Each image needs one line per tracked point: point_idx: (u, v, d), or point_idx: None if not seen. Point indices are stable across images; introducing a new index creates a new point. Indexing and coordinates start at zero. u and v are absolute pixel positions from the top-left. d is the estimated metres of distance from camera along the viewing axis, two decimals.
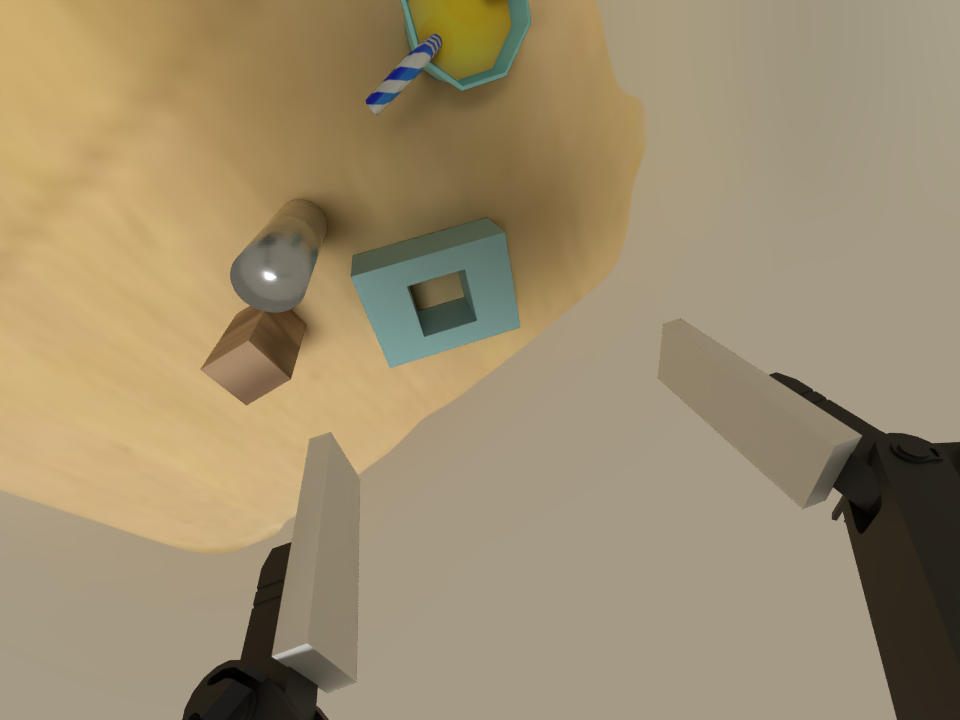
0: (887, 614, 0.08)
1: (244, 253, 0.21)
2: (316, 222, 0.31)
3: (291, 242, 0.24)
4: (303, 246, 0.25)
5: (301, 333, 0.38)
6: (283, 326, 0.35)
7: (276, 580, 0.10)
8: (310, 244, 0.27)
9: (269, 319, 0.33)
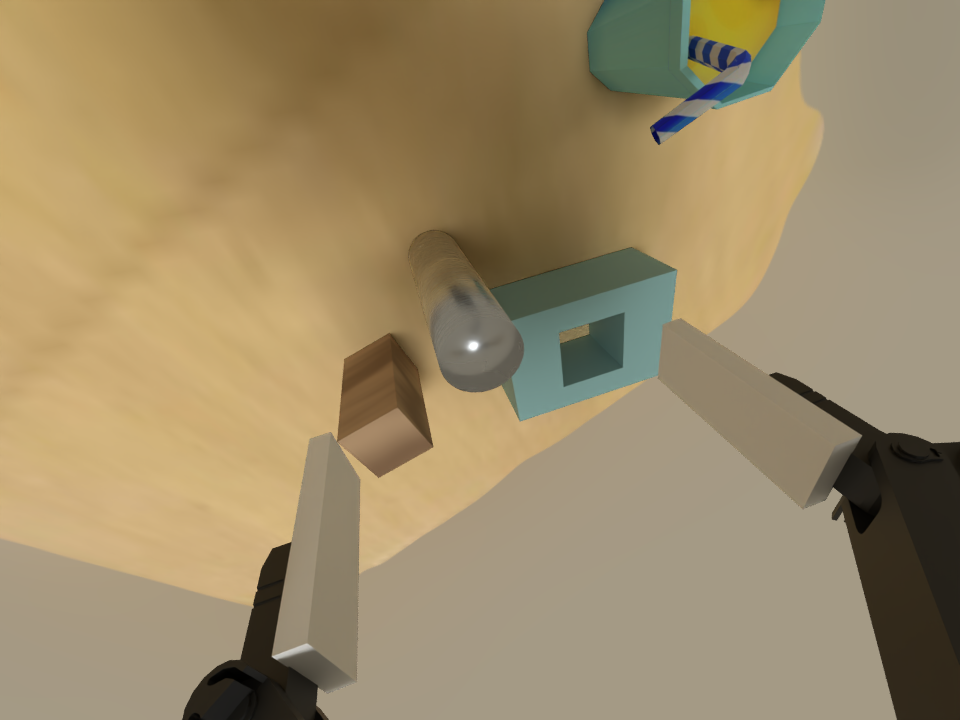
0: (887, 614, 0.08)
1: (464, 324, 0.16)
2: None
3: (494, 300, 0.19)
4: None
5: (418, 380, 0.33)
6: (408, 377, 0.30)
7: (276, 580, 0.10)
8: None
9: (398, 372, 0.28)
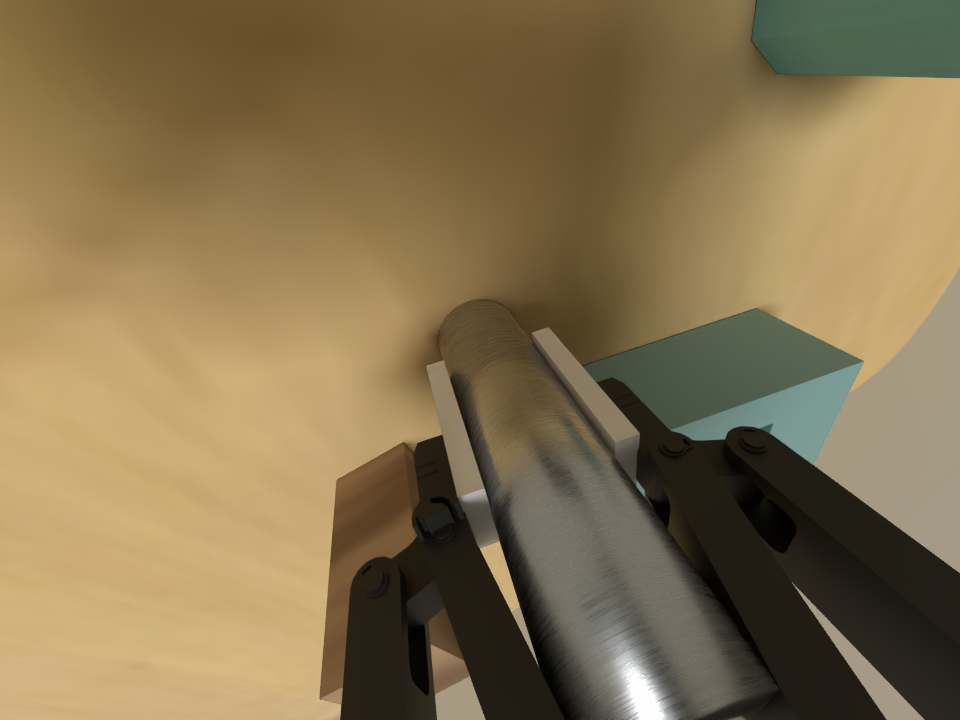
0: None
1: None
2: None
3: (673, 545, 0.08)
4: (663, 524, 0.09)
5: None
6: None
7: (430, 462, 0.12)
8: None
9: None
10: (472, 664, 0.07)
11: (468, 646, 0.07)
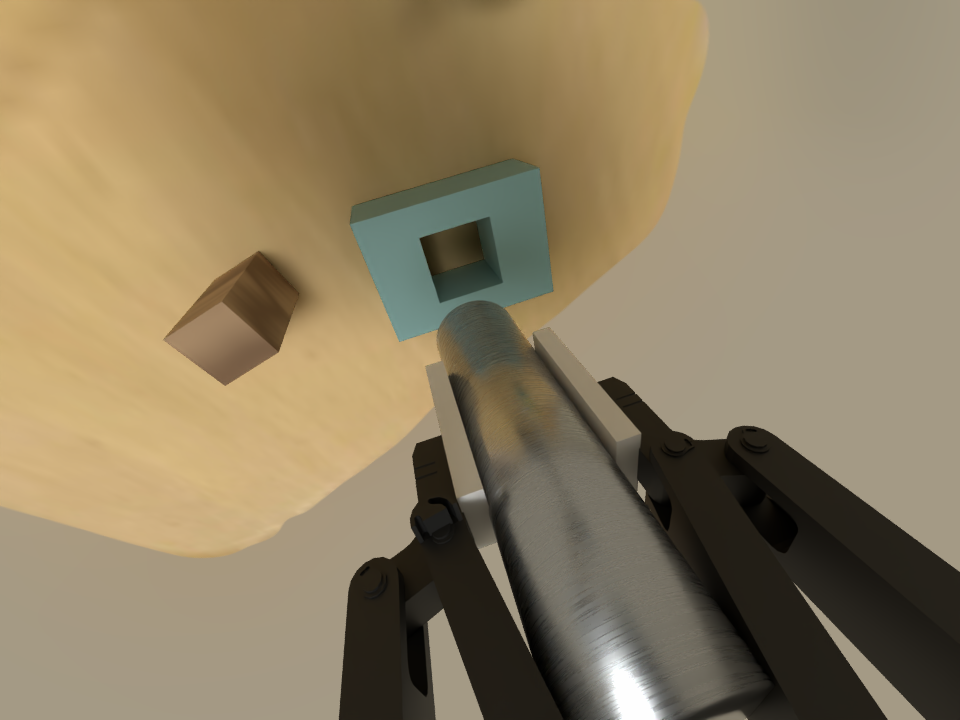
0: None
1: None
2: None
3: (668, 544, 0.08)
4: (659, 523, 0.09)
5: (292, 301, 0.32)
6: (270, 291, 0.29)
7: (428, 462, 0.12)
8: None
9: (251, 281, 0.27)
10: (471, 665, 0.07)
11: (467, 647, 0.07)
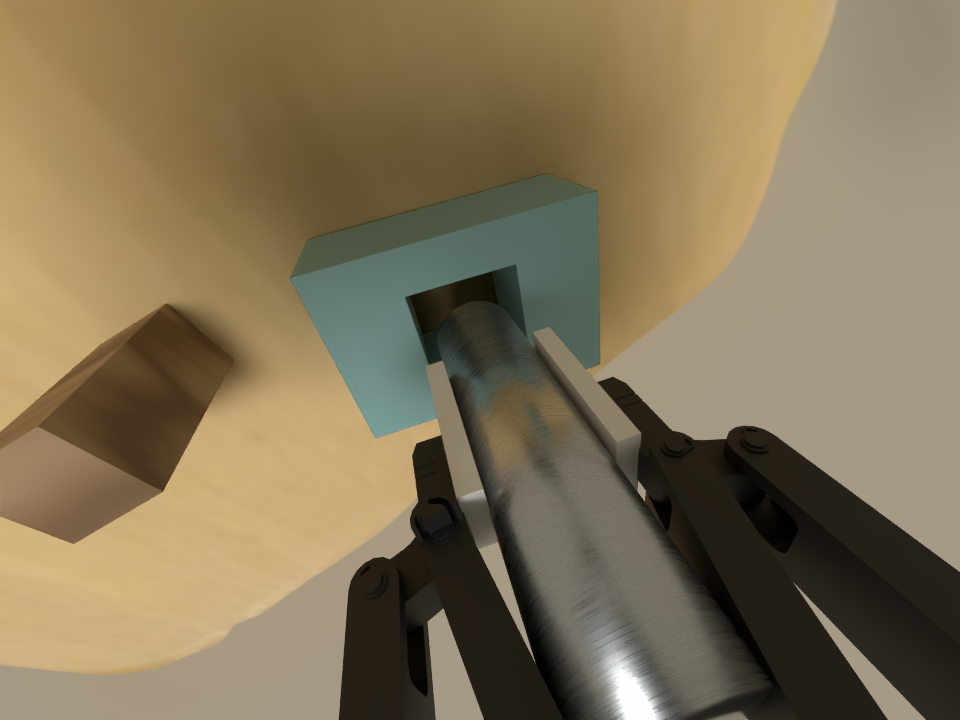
0: None
1: None
2: None
3: (670, 544, 0.08)
4: (660, 524, 0.09)
5: (218, 377, 0.21)
6: (173, 371, 0.19)
7: (429, 462, 0.12)
8: None
9: (132, 363, 0.17)
10: (471, 665, 0.07)
11: (467, 647, 0.07)
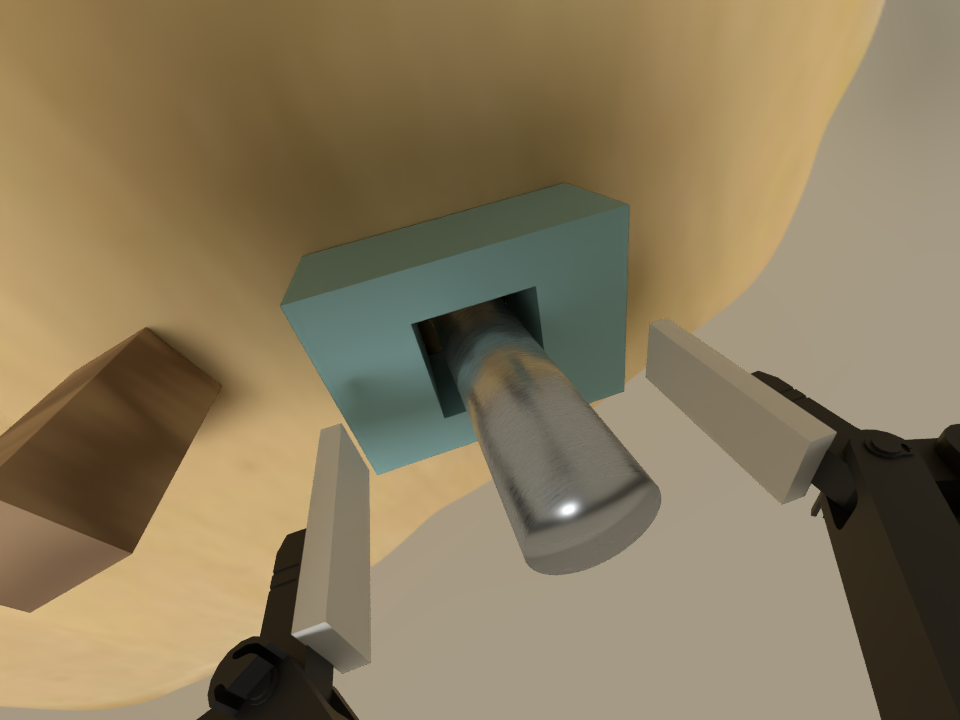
0: (867, 609, 0.08)
1: (576, 492, 0.09)
2: None
3: (596, 415, 0.11)
4: None
5: (203, 407, 0.19)
6: (150, 406, 0.17)
7: (292, 564, 0.10)
8: None
9: (102, 400, 0.15)
10: None
11: None
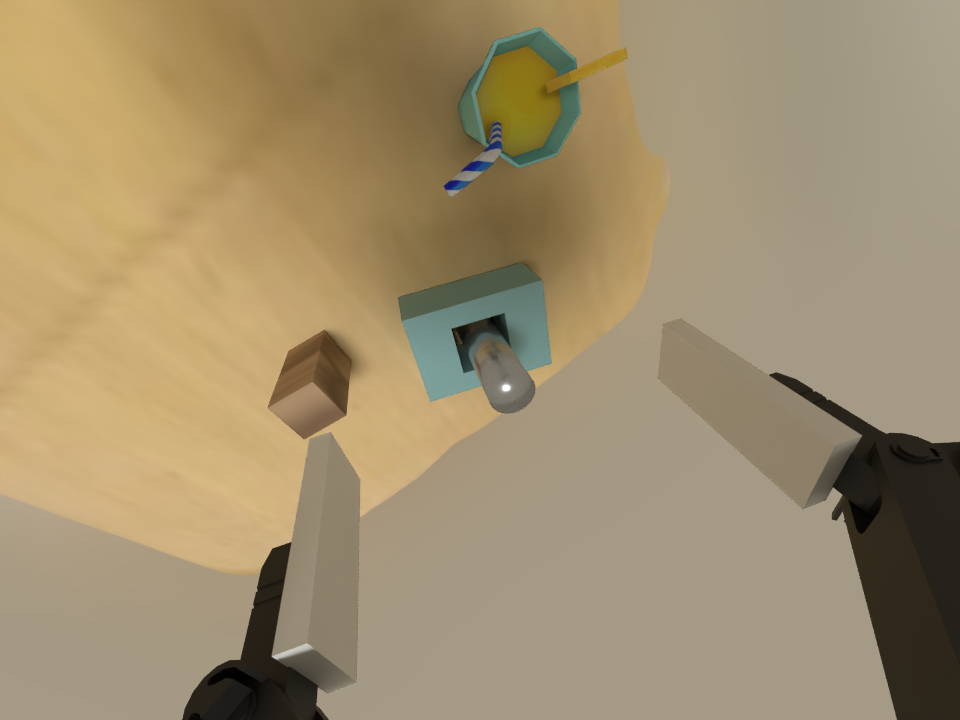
0: (887, 614, 0.08)
1: (504, 377, 0.30)
2: None
3: (517, 360, 0.33)
4: None
5: (348, 368, 0.40)
6: (335, 364, 0.38)
7: (276, 580, 0.10)
8: None
9: (324, 359, 0.36)
10: None
11: None
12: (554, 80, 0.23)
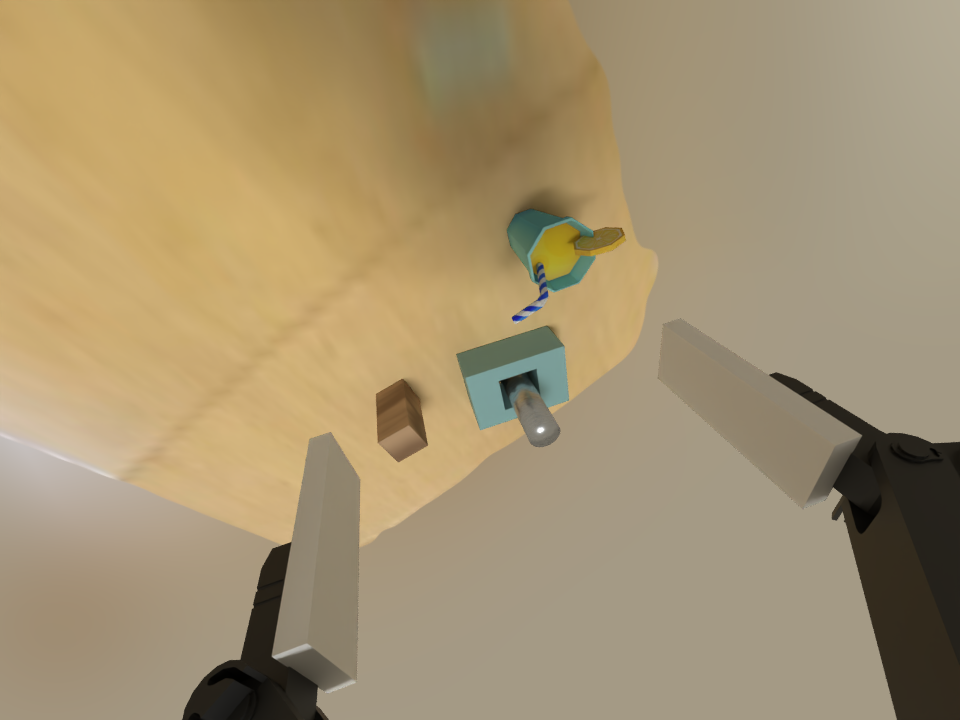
0: (887, 614, 0.08)
1: (540, 425, 0.45)
2: (528, 376, 0.54)
3: (547, 410, 0.47)
4: (548, 409, 0.48)
5: (419, 406, 0.55)
6: (413, 405, 0.52)
7: (276, 580, 0.10)
8: None
9: (408, 404, 0.51)
10: None
11: None
12: (580, 250, 0.37)
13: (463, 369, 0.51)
